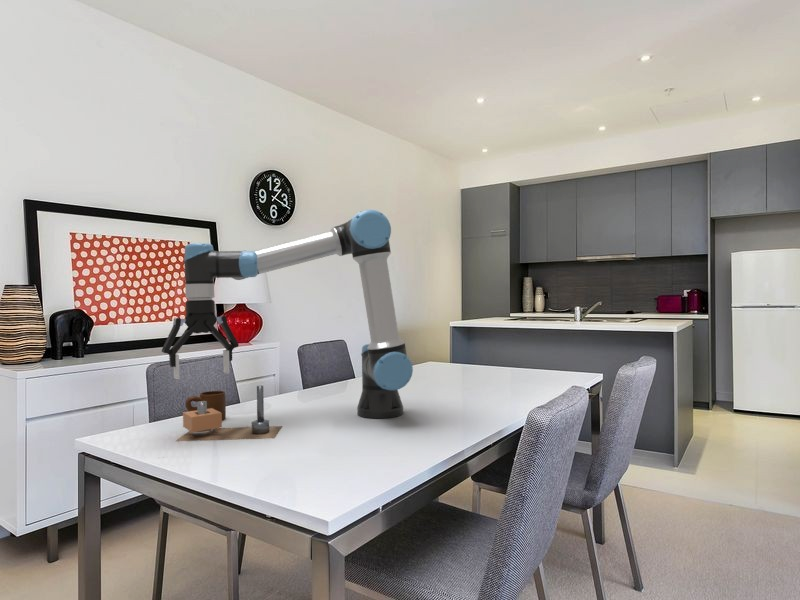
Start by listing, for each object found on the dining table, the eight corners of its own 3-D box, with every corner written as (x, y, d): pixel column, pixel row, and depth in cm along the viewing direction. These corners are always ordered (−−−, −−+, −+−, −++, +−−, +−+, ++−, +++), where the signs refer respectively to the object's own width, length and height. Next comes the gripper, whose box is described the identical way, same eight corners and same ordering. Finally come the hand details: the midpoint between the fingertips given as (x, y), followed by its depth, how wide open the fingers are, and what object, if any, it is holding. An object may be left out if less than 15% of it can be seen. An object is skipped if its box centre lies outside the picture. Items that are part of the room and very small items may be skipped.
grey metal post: (215, 431, 148) (215, 399, 148) (209, 436, 142) (209, 403, 142) (195, 431, 147) (195, 400, 147) (188, 437, 142) (188, 404, 142)
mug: (190, 429, 154) (189, 398, 154) (181, 425, 159) (181, 394, 159) (229, 423, 161) (229, 392, 161) (220, 418, 167) (219, 389, 167)
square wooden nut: (212, 422, 150) (211, 408, 150) (221, 427, 144) (221, 412, 144) (183, 426, 145) (182, 412, 145) (192, 432, 139) (191, 417, 139)
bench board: (282, 429, 152) (282, 426, 152) (274, 441, 139) (274, 438, 139) (192, 432, 151) (192, 428, 151) (175, 444, 138) (175, 441, 138)
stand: (271, 429, 148) (270, 384, 148) (267, 434, 143) (267, 387, 143) (253, 430, 148) (253, 384, 148) (250, 434, 143) (249, 387, 143)
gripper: (238, 298, 155) (240, 369, 155) (148, 300, 140) (150, 379, 140) (248, 298, 149) (250, 372, 149) (155, 300, 134) (157, 382, 134)
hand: (202, 375), depth 145 cm, fingers open, 13 cm apart
